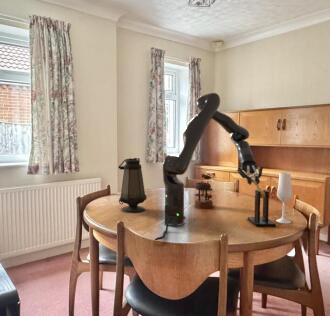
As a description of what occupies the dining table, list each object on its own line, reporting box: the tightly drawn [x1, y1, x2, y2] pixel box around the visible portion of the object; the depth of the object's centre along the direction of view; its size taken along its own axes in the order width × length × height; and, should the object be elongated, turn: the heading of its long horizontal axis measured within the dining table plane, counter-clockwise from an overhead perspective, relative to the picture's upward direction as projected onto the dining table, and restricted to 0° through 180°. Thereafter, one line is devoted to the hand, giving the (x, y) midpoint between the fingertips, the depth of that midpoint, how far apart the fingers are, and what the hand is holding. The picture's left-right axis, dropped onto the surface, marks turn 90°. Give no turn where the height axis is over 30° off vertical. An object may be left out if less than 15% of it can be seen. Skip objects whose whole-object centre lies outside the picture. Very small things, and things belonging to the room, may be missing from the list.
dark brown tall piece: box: [193, 173, 214, 210], centre depth 176 cm, size 15×11×20 cm
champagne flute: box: [275, 172, 293, 224], centre depth 145 cm, size 7×7×24 cm
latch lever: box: [249, 175, 265, 199], centre depth 149 cm, size 17×3×3 cm, turn 0°
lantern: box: [118, 157, 147, 214], centre depth 170 cm, size 18×15×30 cm
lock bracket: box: [247, 189, 277, 228], centre depth 143 cm, size 12×9×16 cm
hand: (254, 183), depth 153 cm, fingers closed on latch lever, 3 cm apart
